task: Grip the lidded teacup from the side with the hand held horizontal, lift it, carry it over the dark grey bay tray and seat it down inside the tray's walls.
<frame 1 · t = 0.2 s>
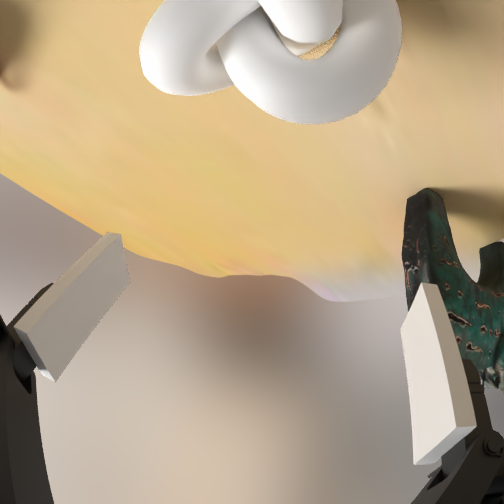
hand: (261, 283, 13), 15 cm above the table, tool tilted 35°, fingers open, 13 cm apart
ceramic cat: (466, 227, 30), on the table
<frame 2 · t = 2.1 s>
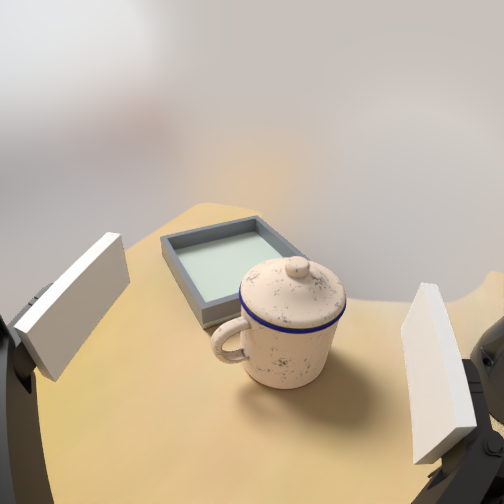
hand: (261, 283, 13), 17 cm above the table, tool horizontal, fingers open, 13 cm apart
bay tray: (234, 271, 43), on the table
teacup with lid: (270, 362, 31), on the table
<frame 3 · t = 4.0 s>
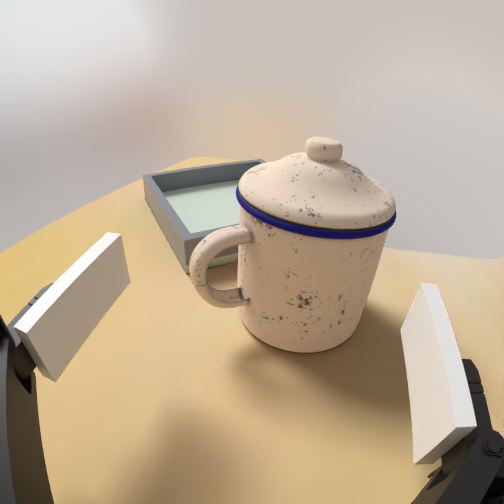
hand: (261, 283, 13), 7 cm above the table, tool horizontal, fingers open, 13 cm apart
bay tray: (232, 213, 34), on the table
teacup with lid: (280, 316, 22), on the table
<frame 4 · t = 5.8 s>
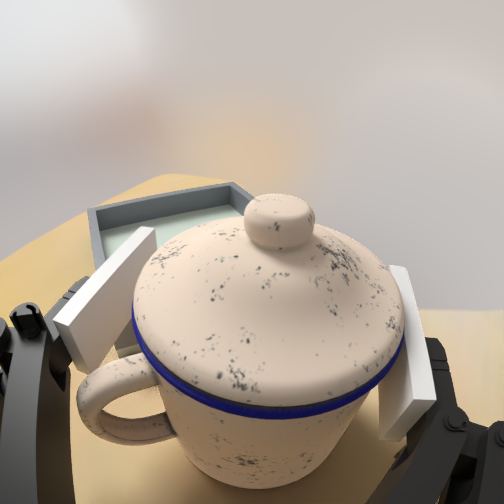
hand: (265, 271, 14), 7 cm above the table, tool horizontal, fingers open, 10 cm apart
bay tray: (191, 260, 27), on the table
teacup with lid: (231, 428, 15), on the table, touching gripper
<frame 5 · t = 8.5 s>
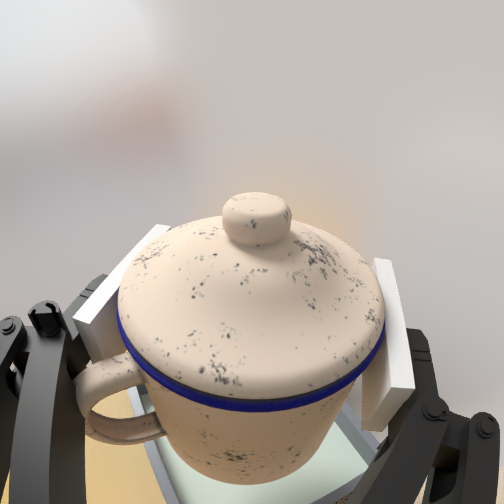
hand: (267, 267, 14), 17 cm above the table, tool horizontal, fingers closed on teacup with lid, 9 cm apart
bay tray: (249, 443, 23), on the table
teacup with lid: (220, 426, 15), point 10 cm above the table, touching gripper
when the fingers open (9 cm above the table, at t = 10.9 s): teacup with lid drops 1 cm, resting on bay tray.
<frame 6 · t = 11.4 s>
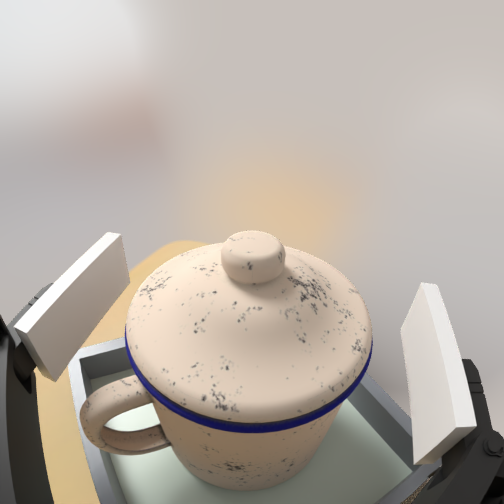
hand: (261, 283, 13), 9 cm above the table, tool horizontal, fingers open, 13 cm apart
bay tray: (238, 446, 16), on the table
teacup with lid: (221, 435, 15), point 1 cm above the table, touching bay tray
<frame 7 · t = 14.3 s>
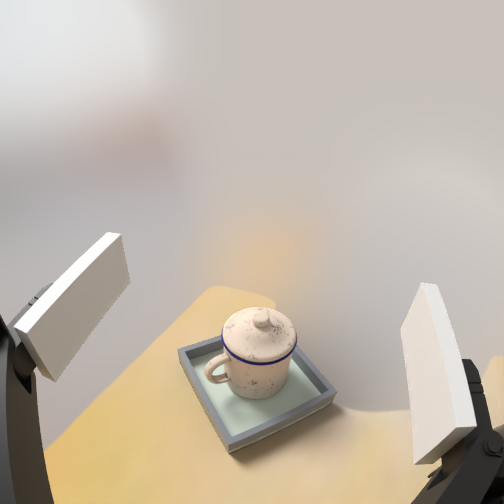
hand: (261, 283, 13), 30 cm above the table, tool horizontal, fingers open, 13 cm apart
bay tray: (253, 384, 42), on the table
teacup with lid: (246, 379, 42), point 1 cm above the table, touching bay tray
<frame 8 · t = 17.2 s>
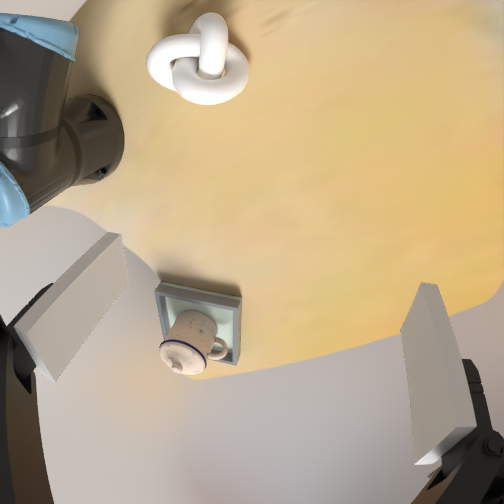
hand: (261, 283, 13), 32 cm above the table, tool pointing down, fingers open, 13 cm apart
white knot sculpture: (214, 55, 36), on the table
bay tray: (202, 320, 62), on the table
teacup with lid: (204, 326, 62), point 1 cm above the table, touching bay tray
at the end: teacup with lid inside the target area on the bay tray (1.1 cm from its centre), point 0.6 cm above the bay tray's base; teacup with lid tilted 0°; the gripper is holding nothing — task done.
